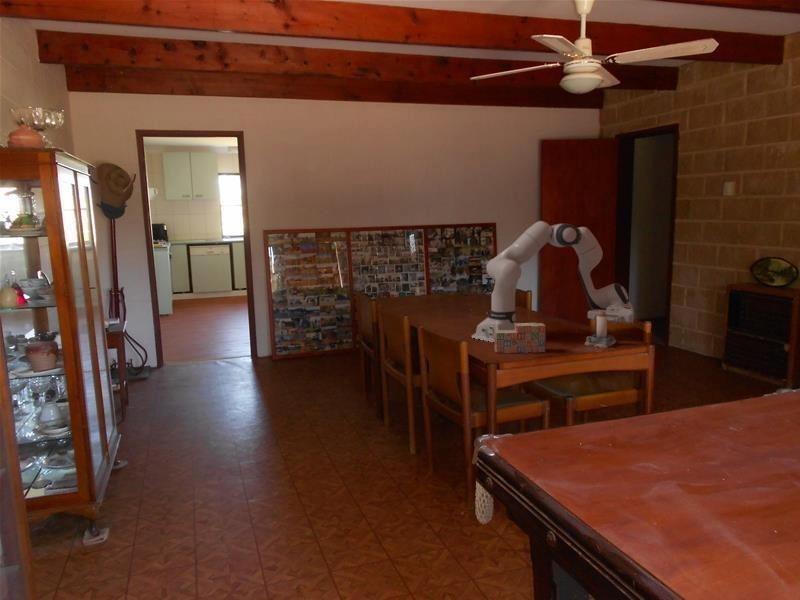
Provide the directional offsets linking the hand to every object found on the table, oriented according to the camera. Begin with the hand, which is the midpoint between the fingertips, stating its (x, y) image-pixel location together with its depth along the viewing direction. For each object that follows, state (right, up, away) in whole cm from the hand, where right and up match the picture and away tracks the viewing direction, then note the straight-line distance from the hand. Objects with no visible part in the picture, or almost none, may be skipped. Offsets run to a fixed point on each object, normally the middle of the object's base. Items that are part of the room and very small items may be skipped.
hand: (604, 318), depth 270 cm
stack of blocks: (-41, -14, -8) cm, 44 cm away
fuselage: (-2, -11, 0) cm, 11 cm away
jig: (-1, -11, +2) cm, 12 cm away
